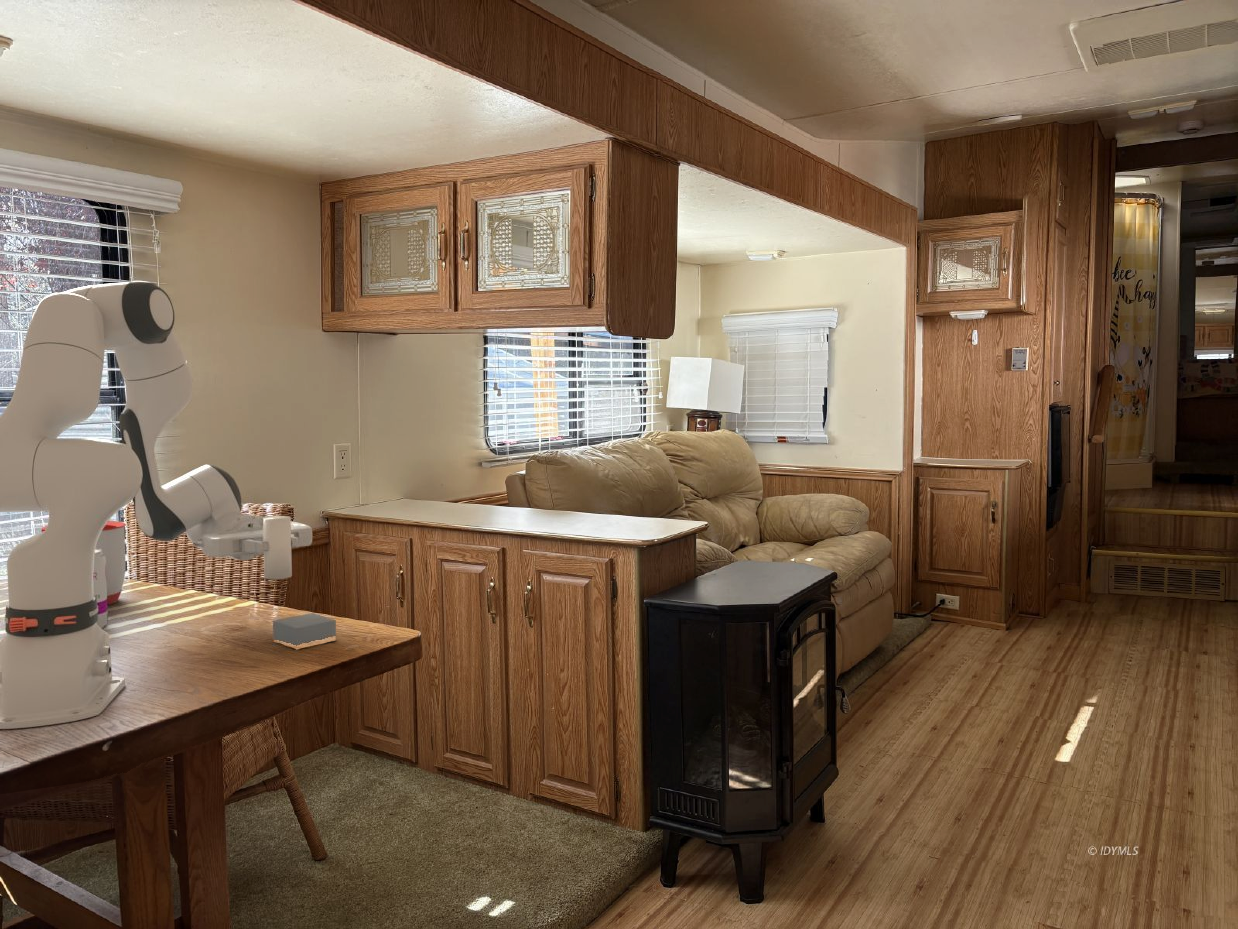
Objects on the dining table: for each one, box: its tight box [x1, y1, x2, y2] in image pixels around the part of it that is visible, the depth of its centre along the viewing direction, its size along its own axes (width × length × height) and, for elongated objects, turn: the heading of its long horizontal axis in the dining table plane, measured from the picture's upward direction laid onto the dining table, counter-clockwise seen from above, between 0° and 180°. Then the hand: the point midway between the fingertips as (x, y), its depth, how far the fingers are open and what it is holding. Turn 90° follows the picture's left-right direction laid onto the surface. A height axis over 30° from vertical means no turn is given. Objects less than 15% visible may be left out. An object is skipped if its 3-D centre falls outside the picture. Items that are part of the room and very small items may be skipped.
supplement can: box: [93, 549, 109, 629], centre depth 180 cm, size 8×8×15 cm
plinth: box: [272, 612, 337, 646], centre depth 173 cm, size 8×8×4 cm
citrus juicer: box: [41, 520, 127, 606], centre depth 199 cm, size 16×17×20 cm
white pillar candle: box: [263, 515, 293, 580], centre depth 173 cm, size 5×5×11 cm
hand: (280, 545), depth 172 cm, fingers closed on white pillar candle, 5 cm apart
